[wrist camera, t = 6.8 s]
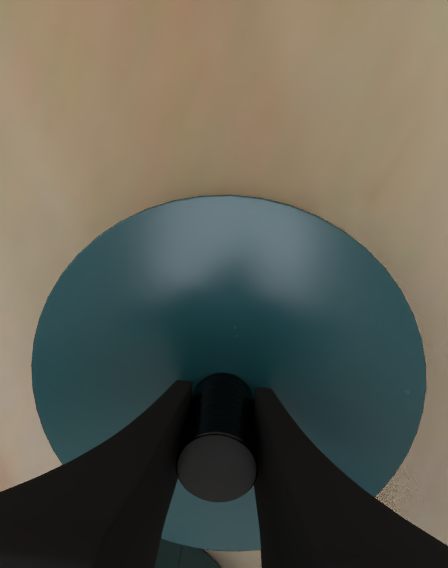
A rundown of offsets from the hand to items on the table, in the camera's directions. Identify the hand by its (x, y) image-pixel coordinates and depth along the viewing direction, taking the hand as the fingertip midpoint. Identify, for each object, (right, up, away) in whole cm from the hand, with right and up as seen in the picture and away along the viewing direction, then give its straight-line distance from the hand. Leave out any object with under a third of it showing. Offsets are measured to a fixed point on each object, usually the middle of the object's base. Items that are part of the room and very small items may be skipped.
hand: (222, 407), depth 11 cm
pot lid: (0, 0, +1) cm, 1 cm away
